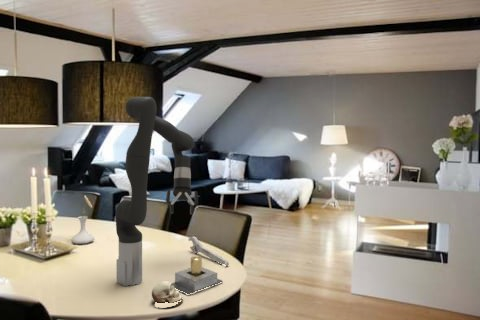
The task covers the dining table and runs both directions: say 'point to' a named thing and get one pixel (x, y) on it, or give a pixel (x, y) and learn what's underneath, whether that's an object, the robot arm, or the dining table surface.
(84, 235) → the flower in vase
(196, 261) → the brass fitting
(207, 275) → the grey square holder
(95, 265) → the dining table surface
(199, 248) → the wrench
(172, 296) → the skull
